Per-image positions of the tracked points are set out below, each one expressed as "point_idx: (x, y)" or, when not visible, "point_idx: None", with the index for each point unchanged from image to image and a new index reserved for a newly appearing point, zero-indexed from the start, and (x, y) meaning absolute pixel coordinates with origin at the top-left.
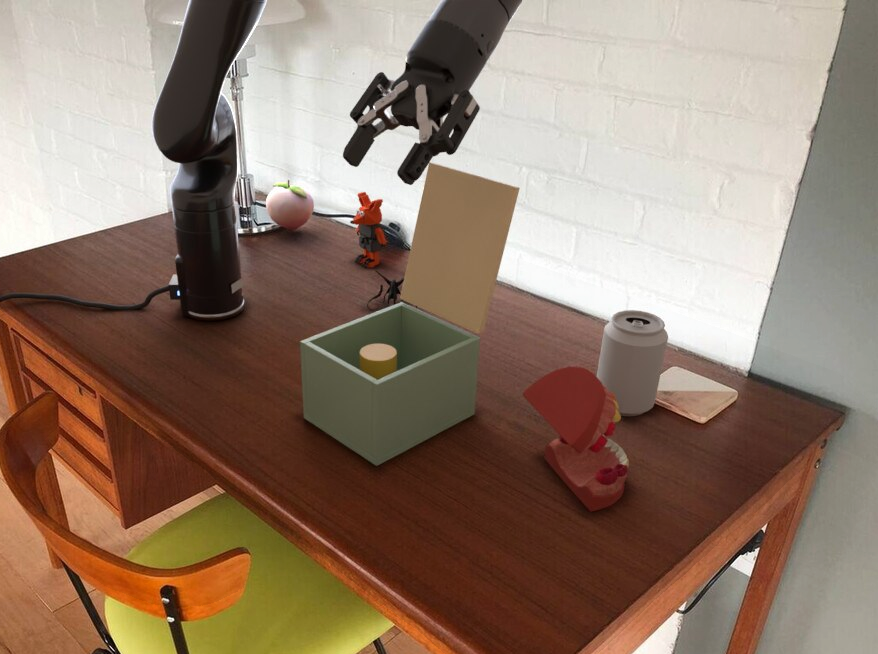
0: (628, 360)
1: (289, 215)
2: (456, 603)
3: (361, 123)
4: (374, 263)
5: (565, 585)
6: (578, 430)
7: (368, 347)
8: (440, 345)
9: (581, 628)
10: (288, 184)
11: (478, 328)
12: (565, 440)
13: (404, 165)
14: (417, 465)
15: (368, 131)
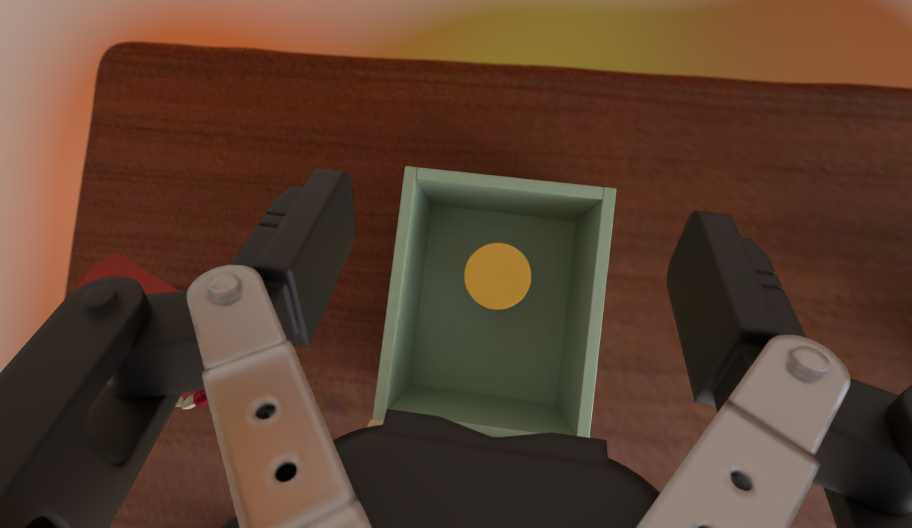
0: None
1: None
2: (209, 75)
3: (790, 348)
4: None
5: (138, 172)
6: (102, 270)
7: (522, 276)
8: (463, 411)
9: (99, 131)
10: None
11: (371, 423)
12: (126, 258)
13: (313, 184)
14: (386, 234)
15: (733, 374)
